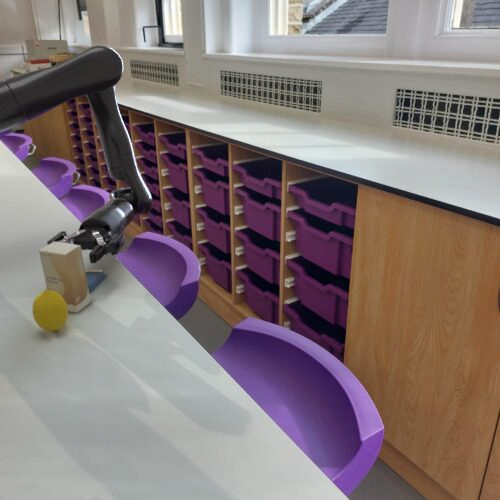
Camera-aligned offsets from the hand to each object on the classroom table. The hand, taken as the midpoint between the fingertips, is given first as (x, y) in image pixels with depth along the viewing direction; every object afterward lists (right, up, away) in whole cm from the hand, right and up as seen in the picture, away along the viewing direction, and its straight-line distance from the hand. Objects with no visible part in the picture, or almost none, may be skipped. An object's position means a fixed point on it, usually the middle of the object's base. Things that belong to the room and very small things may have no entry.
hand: (70, 258), depth 92 cm
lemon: (0, -13, -7) cm, 14 cm away
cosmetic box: (0, -9, +1) cm, 9 cm away
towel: (-2, -5, +9) cm, 11 cm away
